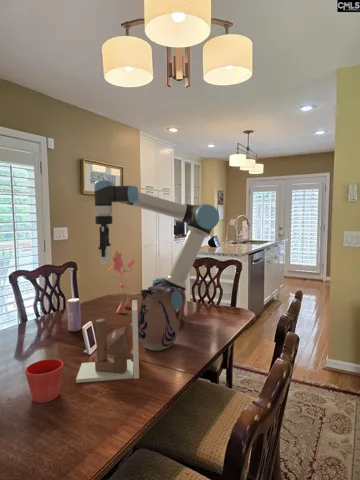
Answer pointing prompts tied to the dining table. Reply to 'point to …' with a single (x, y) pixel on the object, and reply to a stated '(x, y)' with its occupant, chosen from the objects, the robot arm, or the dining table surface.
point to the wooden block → (110, 351)
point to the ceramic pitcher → (159, 317)
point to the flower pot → (44, 379)
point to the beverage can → (73, 314)
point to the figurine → (117, 266)
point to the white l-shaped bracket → (88, 369)
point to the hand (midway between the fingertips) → (105, 262)
